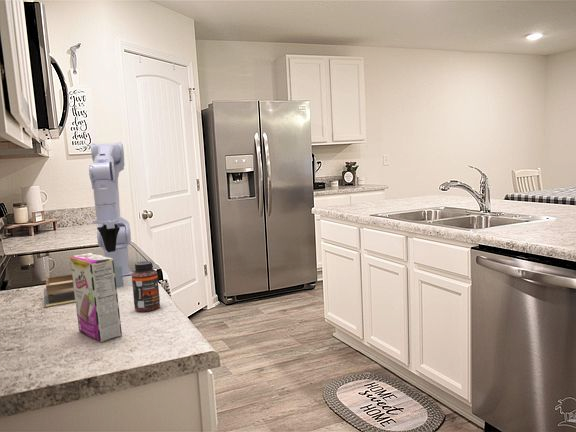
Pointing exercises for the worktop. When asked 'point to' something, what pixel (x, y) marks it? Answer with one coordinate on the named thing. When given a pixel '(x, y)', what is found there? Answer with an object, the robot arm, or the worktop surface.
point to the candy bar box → (96, 296)
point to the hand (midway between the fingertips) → (110, 250)
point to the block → (118, 275)
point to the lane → (59, 299)
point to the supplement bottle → (145, 287)
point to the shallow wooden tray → (58, 285)
